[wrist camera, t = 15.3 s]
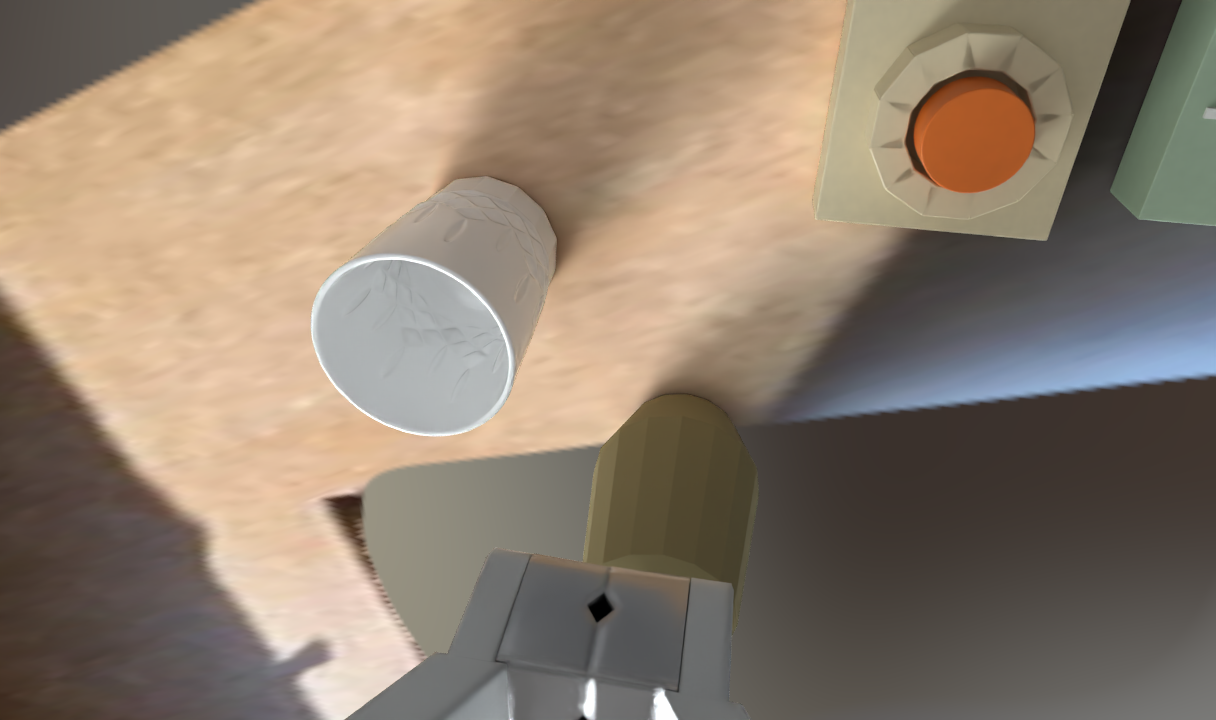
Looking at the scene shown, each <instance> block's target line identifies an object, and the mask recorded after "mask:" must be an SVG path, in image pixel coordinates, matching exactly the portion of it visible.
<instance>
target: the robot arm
mask: <svg viewBox="0 0 1216 720" xmlns="http://www.w3.org/2000/svg"><path fill="white" fill-rule="evenodd" d="M689 583H690V584H689ZM733 598H734V589H733V587H732V584H731V583H726V582H719V581H712V580H705V579H698V578H691V580H690V577H685V576H678V575H671V574H664V573H657V572H649V571H642V570H635V569H628V568H621V567H613V566H611V567H607V566H602V565H596V564H590V563H585V562H579V561H573V560H567V559H562V558H556V557H551V556H545V555H539V554H530V553H524V552H518V551H513V550H506V549H501V548H495V547H494V548H493V550H492V551H491V552H490V553H489V555H488V556H487V557H486V560H485V562H484V565H483V567H482V570H481V572H480V575H479V577H478V579H477V582H476V585H475V587H474V589H473V592H472V594H471V597H470V599H469V602H468V604H467V606H466V609H465V611H464V614H463V616H462V619H461V622H460V624H459V626H458V629H457V631H456V634H455V636H454V639H453V641H452V643H451V646H450V649H449V651H448V653H447V654H446V653H438V652H435V653H434V654H433V655H431V656H429V657H428V658H427V659H425V660H424V661H423V662H421V663H420V664H419V665H417V666H416V667H415V668H413V669H412V670H411V671H409V672H408V673H407V674H405V675H404V676H403V677H401V678H400V679H399V680H397V681H396V682H394V683H393V684H392V685H390V686H389V687H388V688H386V689H385V690H384V691H382V692H381V693H380V694H378V695H377V696H376V697H374V698H373V699H372V700H370V701H369V702H368V703H366V704H365V705H364V706H362V707H361V708H360V709H358V710H357V711H355V712H354V713H353V714H351V715H350V716H349V717H347V718H346V719H345V720H751V718H750V717H749V715H748V713H747V712H746V710H745V708H744V707H743V705H742V704H741V703H736V702H730V701H729V687H730V665H731V642H732V621H733Z"/></svg>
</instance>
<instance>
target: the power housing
mask: <svg viewBox="0 0 1216 720" xmlns="http://www.w3.org/2000/svg"><path fill="white" fill-rule="evenodd" d="M1130 1H1131V0H847V6H846V12H845V18H844V23H843V29H842V35H841V40H840V46H839V52H838V57H837V63H836V69H835V74H834V80H833V86H832V91H831V97H830V103H829V108H828V114H827V120H826V125H825V131H824V137H823V143H822V148H821V154H820V160H819V165H818V171H817V177H816V182H815V188H814V194H813V199H812V200H813V208H814V215H815V219H816V220H825V221H836V222H847V223H858V224H869V225H880V226H891V227H901V228H912V229H923V230H934V231H945V232H956V233H967V234H978V235H988V236H999V237H1010V238H1021V239H1032V240H1043V241H1046V240H1047V239H1048V236H1049V233H1050V230H1051V227H1052V224H1053V222H1054V219H1055V216H1056V213H1057V210H1058V207H1059V204H1060V202H1061V199H1062V196H1063V193H1064V190H1065V187H1066V184H1067V181H1068V179H1069V176H1070V173H1071V170H1072V167H1073V164H1074V161H1075V159H1076V156H1077V153H1078V150H1079V147H1080V144H1081V141H1082V138H1083V136H1084V133H1085V130H1086V127H1087V124H1088V121H1089V118H1090V116H1091V113H1092V110H1093V107H1094V104H1095V101H1096V98H1097V95H1098V93H1099V90H1100V87H1101V84H1102V81H1103V78H1104V75H1105V73H1106V70H1107V67H1108V64H1109V61H1110V58H1111V55H1112V52H1113V50H1114V47H1115V44H1116V41H1117V38H1118V35H1119V32H1120V30H1121V27H1122V24H1123V21H1124V18H1125V15H1126V12H1127V9H1128V7H1129V4H1130ZM973 76H981V77H989V78H992V79H995V80H998V81H1000V82H1002V83H1003V84H1005V85H1006V86H1008V87H1009V88H1010V89H1011V90H1012V91H1013V92H1014V93H1015V94H1016V95H1017V96H1018V97H1019V98H1021V99H1022V100H1023V101H1024V102H1025V104H1026V105H1027V106H1028V108H1029V109H1030V111H1031V113H1032V116H1033V118H1034V123H1035V140H1034V144H1033V148H1032V150H1031V153H1030V155H1029V157H1028V159H1027V160H1026V162H1025V163H1024V165H1023V166H1022V167H1021V168H1020V170H1019V171H1018V172H1017V173H1016V174H1015V175H1014V176H1012V177H1011V178H1010V179H1009V180H1007V181H1006V182H1004V183H1002V184H1001V185H999V186H997V187H995V188H992V189H990V190H987V191H983V192H978V193H958V192H954V191H950V190H948V189H945V188H943V187H941V186H940V185H938V184H937V183H936V182H935V181H933V180H932V178H931V177H930V176H929V175H928V173H927V172H926V170H925V168H924V166H923V164H922V162H921V160H920V158H919V157H918V154H917V152H916V149H915V146H914V139H913V134H914V126H915V122H916V119H917V116H918V114H919V112H920V110H921V109H922V107H923V105H924V104H925V103H926V101H927V100H928V99H929V98H930V97H931V96H932V95H933V94H934V93H935V92H936V91H938V90H939V89H940V88H942V87H943V86H945V85H947V84H949V83H951V82H953V81H956V80H958V79H962V78H966V77H973Z"/></svg>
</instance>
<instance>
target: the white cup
mask: <svg viewBox="0 0 1216 720" xmlns="http://www.w3.org/2000/svg"><path fill="white" fill-rule="evenodd" d="M556 246H557V239H556V236H555V234H554V232H553V230H552V227H551V225H550V223H549V221H548V219H547V216H546V214H545V212H544V210H543V209H542V208H541V207H540V206H539V205H538V204H537V203H536V202H535V201H533V200H532V199H531V198H530V197H529V196H528V195H527V194H526V193H525V192H524V191H522V190H521V189H520V188H519V187H517V186H514V185H511V184H508V183H506V182H503V181H500V180H497V179H494V178H491V177H488V176H483V177H473V178H464V179H456V180H454V181H452V182H451V183H449V184H448V185H447V186H445V187H444V188H442V189H441V190H439V191H438V192H437V193H435V194H434V195H432V196H431V197H430V198H428V199H427V200H426V201H424V202H421V203H419V204H417V205H416V206H415V207H414V208H412V209H411V210H410V211H409V212H407V213H406V214H404V215H403V216H402V217H400V218H399V219H398V220H397V221H396V222H394V223H393V224H391V225H390V226H388V227H387V228H386V229H385V230H383V231H382V232H381V233H380V234H379V235H378V236H376V237H375V238H374V239H373V240H372V241H370V242H369V243H368V244H367V245H366V246H365V247H363V248H362V249H361V250H360V251H359V252H357V253H356V254H355V255H354V256H353V257H351V258H350V259H349V260H348V261H346V262H345V263H344V264H343V265H342V266H340V267H339V268H338V269H337V270H335V271H334V272H333V273H332V274H331V275H330V276H329V277H328V278H327V279H326V281H325V282H324V283H323V285H322V286H321V288H320V289H319V291H318V293H317V295H316V298H315V301H314V304H313V308H312V313H311V334H312V340H313V345H314V348H315V352H316V354H317V357H318V359H319V362H320V364H321V366H322V368H323V369H324V371H325V373H326V374H327V376H328V378H329V379H330V380H331V382H332V383H333V384H334V386H335V387H336V388H337V389H338V390H339V392H340V393H341V394H342V395H343V396H344V397H345V398H346V399H347V400H348V401H349V402H351V403H352V404H353V405H354V406H355V407H357V408H358V409H359V410H361V411H362V412H363V413H365V414H366V415H368V416H370V417H371V418H373V419H375V420H377V421H378V422H380V423H382V424H385V425H387V426H389V427H392V428H394V429H397V430H400V431H403V432H407V433H411V434H417V435H424V436H449V435H455V434H460V433H464V432H467V431H470V430H472V429H474V428H477V427H479V426H480V425H482V424H484V423H485V422H487V421H488V420H489V419H491V418H492V417H493V416H494V415H495V414H496V413H497V412H498V411H499V410H500V409H501V407H502V406H503V405H504V403H505V402H506V400H507V398H508V396H509V394H510V392H511V389H512V387H513V384H514V381H515V379H516V376H517V374H518V371H519V369H520V366H521V364H522V361H523V359H524V356H525V354H526V351H527V349H528V346H529V344H530V341H531V339H532V336H533V334H534V331H535V328H536V326H537V323H538V319H539V316H540V314H541V311H542V308H543V306H544V303H545V299H546V295H547V290H548V286H549V284H550V282H551V279H552V277H553V275H554V272H555V270H556Z"/></svg>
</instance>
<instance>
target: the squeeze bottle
mask: <svg viewBox="0 0 1216 720" xmlns="http://www.w3.org/2000/svg"><path fill="white" fill-rule="evenodd" d="M758 489H759V488H758V476H757V468H756V466H755V464H754V462H753V460H752V458H751V456H750V455H749V452H748V451H747V449H746V447H745V445H744V443H743V441H742V439H741V437H740V435H739V434H738V432H737V430H736V428H735V427H734V425H733V423H732V422H731V420H730V419H729V417H728V415H727V414H726V413H725V412H724V411H723V410H721V409H720V408H718V407H717V406H716V405H714V404H713V403H711V402H710V401H709V400H706V399H702V398H699V397H695V396H692V395H688V394H672V395H662V396H660V397H657V398H655V399H653V400H650V401H648V402H645V403H644V404H643V405H642V406H641V407H640V408H639V409H638V410H637V411H636V412H635V413H634V414H633V415H632V416H631V417H630V418H629V419H628V420H627V421H626V422H625V423H624V424H623V425H622V426H621V427H620V429H619V430H618V431H617V432H616V433H615V434H614V435H613V436H612V437H611V438H610V439H609V440H608V441H607V442H606V443H605V444H604V445H603V446H602V447H601V449H600V453H599V456H598V460H597V463H596V466H595V470H594V476H593V483H592V491H591V500H590V507H589V516H588V523H587V531H586V539H585V548H584V555H583V562H585V563H590V564H596V565H602V566H607V567H611V566H613V567H621V568H628V569H635V570H642V571H649V572H657V573H664V574H671V575H678V576H685V577H690V580H691V578H698V579H705V580H712V581H719V582H726V583H731V584H732V587H733V589H734V598H733V621H732V635H733V633H734V631H735V628H736V627H737V624H738V618H739V612H740V606H741V600H742V594H743V588H744V582H745V576H746V570H747V564H748V558H749V552H750V545H751V540H752V533H753V527H754V521H755V515H756V509H757V503H758V497H759V490H758ZM689 584H690V583H689Z"/></svg>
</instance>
